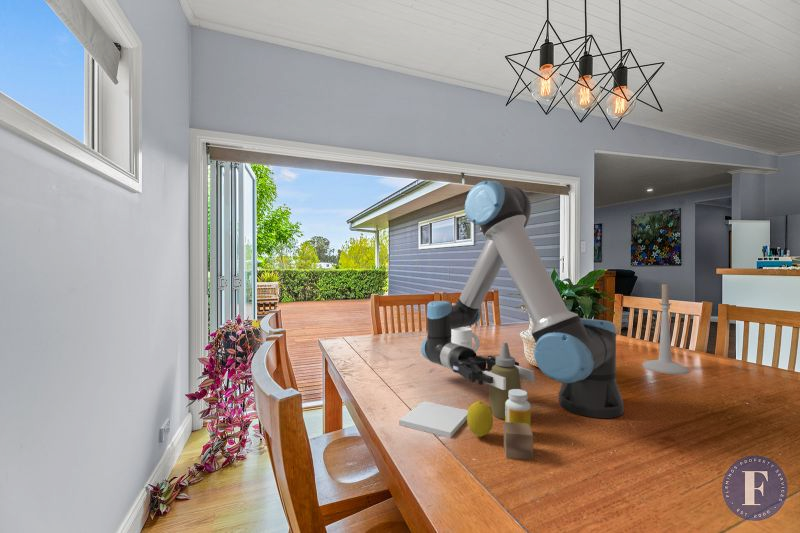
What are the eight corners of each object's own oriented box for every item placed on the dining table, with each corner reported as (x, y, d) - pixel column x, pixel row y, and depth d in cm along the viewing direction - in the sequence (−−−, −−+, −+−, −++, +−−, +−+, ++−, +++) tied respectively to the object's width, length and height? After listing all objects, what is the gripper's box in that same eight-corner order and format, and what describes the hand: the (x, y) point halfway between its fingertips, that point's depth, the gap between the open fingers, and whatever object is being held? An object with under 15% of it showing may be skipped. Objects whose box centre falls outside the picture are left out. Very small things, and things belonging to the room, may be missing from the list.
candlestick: (636, 362, 135) (636, 281, 135) (674, 364, 133) (674, 281, 133) (655, 373, 123) (655, 284, 122) (697, 375, 121) (697, 284, 120)
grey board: (470, 415, 91) (470, 410, 91) (450, 437, 80) (450, 432, 80) (423, 405, 98) (423, 401, 98) (398, 424, 86) (398, 419, 86)
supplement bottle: (500, 431, 83) (500, 389, 82) (519, 427, 85) (519, 386, 84) (515, 442, 78) (515, 397, 77) (536, 438, 79) (536, 394, 79)
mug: (485, 360, 141) (485, 329, 140) (457, 363, 137) (457, 331, 136) (474, 355, 148) (474, 325, 148) (447, 358, 144) (447, 327, 144)
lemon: (493, 444, 77) (493, 406, 77) (466, 442, 78) (466, 404, 78) (492, 432, 82) (492, 397, 82) (467, 430, 84) (467, 395, 83)
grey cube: (528, 447, 76) (528, 423, 76) (533, 460, 71) (532, 435, 71) (503, 445, 77) (503, 422, 77) (506, 458, 72) (506, 433, 72)
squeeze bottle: (486, 419, 89) (485, 345, 89) (491, 406, 97) (490, 338, 96) (521, 424, 86) (521, 348, 86) (523, 411, 94) (523, 341, 93)
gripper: (487, 365, 112) (549, 387, 93) (428, 377, 101) (485, 405, 82) (486, 341, 112) (549, 358, 93) (428, 350, 101) (485, 372, 82)
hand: (519, 380), depth 87 cm, fingers open, 9 cm apart
